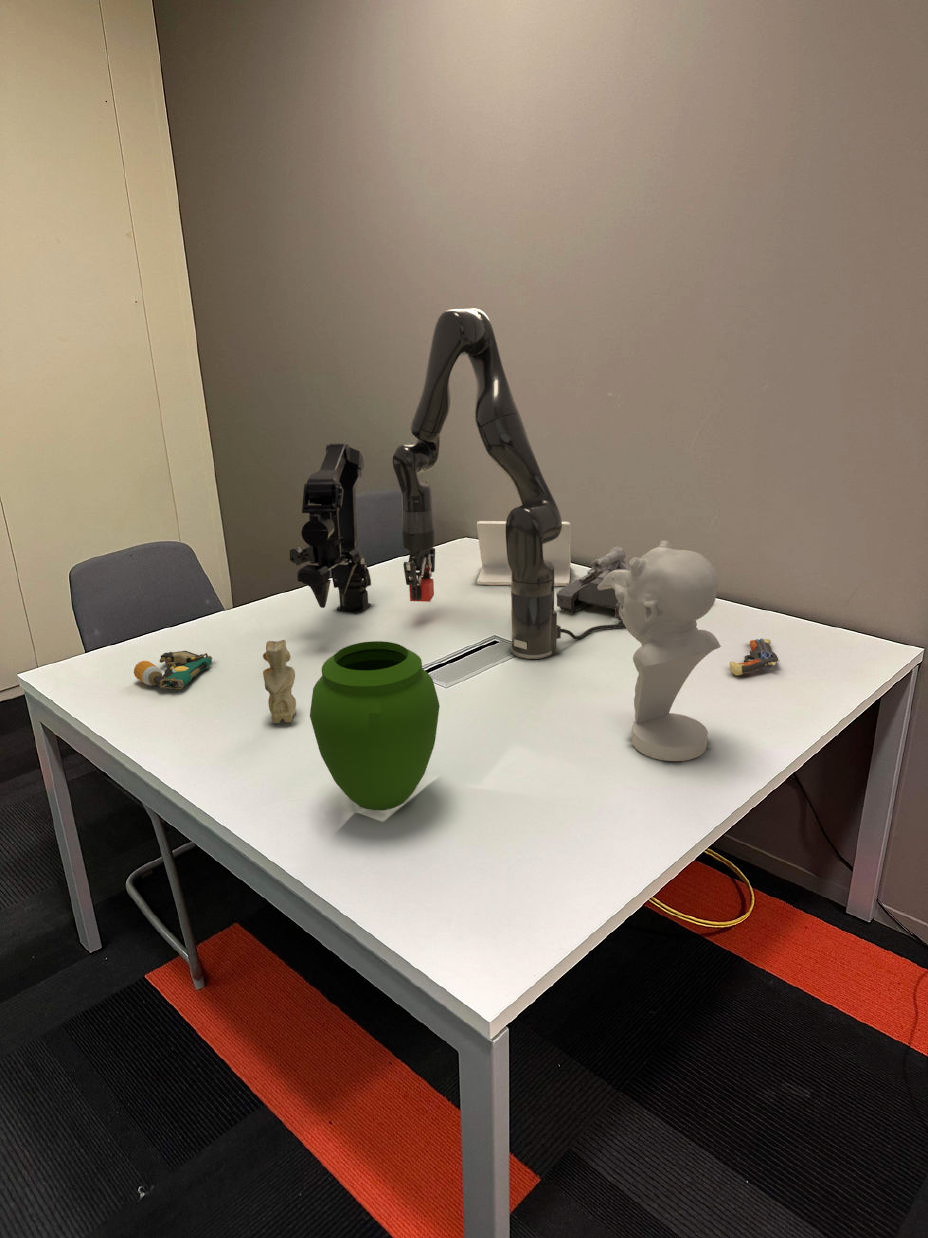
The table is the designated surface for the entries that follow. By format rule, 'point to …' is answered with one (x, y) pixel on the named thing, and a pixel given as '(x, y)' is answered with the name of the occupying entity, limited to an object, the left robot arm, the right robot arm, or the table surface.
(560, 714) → the table surface
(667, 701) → the bust sculpture
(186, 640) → the table surface
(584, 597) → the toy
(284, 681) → the sculpture
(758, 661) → the toy gun
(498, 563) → the tablet stand
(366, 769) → the vase
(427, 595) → the brick
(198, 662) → the spray gun
